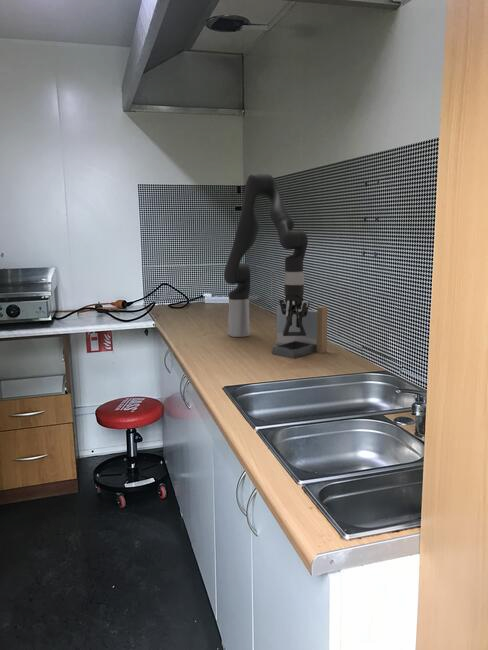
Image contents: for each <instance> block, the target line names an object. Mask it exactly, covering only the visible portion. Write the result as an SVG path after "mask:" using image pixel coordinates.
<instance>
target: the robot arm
mask: <svg viewBox="0 0 488 650" xmlns="http://www.w3.org/2000/svg"><path fill="white" fill-rule="evenodd" d="M244 186H245V187H244V192H243V200H242V205H241V211H240V215H239V220H238V223H237V227H236V230H235V234H234V238H233V239H234V240H233V243H232V247H231V250H230V253H229V255H228V259H227V262H226V265H225V267H224V273H223V277H224V281H225V282H226V284H228V285H236V287H235V288H234V289H233V290H231V291H229V293H228V314H227V335H228V336H230V337H233V338H245V337H249V336H250V298H249V297H250V292H251V269H250V266H249V265H248V264H247V263H246V262H241V261H242V259H243V257H244V256H245V254H247V252H248V251H249V250H250V249H251V248H252V247H253V245H254V244H255V242H256V239H257V236H258V234H259V229H260V225H259V220H258V217H257V214H256V211H255V205H256V200H257V198H267V199H268V200H269V202H270V209H269V211H270V212H269V216H270V220H271V221H272V223H273V225H274V227H275V228H276V230H277V233H278V239H279V243H280V245H281V247H283V249H285V250H290V251H292V250H293V253H292V254H290V255H288V256H286V257H285V259H284V280H283V281H284V285H283V286H284V295H285V297H284V298H283V299H279V301H278V302H279V306H280V307H281V311H282V314H283V315H286V322H287V320H288V317H289V313H290V307H291V305H293V307H292V308H291V309H292V311H293V310H294V311H295V312H297V310H298V309H299V310H298V314H300V315H299V317H300V319H301V322H302V317H305V316H307V312H308V310H309V308H310V302H309V301H305V300H304V294H305V291H304V290H305V289H304V288H305V276H304V259H305V255H306V252H307V247H308V242H309V237H308V235H307V233H306V232H305V231H304V230H293V229H294V228H295V222H294V220H293V218H292V216H291V215H290V213H289V211H288V210H287V207H286V206H285V204H284V202H283V198H282V196H281V193H280V190H279V188H278V186H277V183H276V181H275V179H274V177H273V176H272V175H270V174H268V173H251V174H249V175H248V176H247V179H246V183H245V185H244ZM296 306H298V308H297V307H296ZM284 309H285V310H284ZM290 326H292V320H291V324H290ZM296 327H297V328H299V323H298V320H297V318H296Z"/></svg>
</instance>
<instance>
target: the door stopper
mask: <svg viewBox="0 0 488 650" xmlns="http://www.w3.org/2000/svg"><path fill="white" fill-rule="evenodd" d="M292 307H293V305H291V307H290V313H289V317H288V320H287V322H286V324H285V327H284V329H283V336H294V335H295V336H306V333H305V330H304V327H303V325H302V322H301V319H300V317H299V314H298V310H297V312H295V311H294V310H293V311H292V309H291V308H292ZM296 307H297V308H298V306H296ZM294 314H296V317H297V320H298V323H299V328H300V332H289V328H290V324H291V320H292V316H293V315H294Z"/></svg>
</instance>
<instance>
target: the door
mask: <svg viewBox="0 0 488 650" xmlns="http://www.w3.org/2000/svg"><path fill="white" fill-rule="evenodd" d="M284 310H285V309H284ZM298 310H299V309H298ZM299 315H300V314H299ZM296 318H297V317H296V314H294V315H293V316H292V326H290V328H289V332H300V328H297V327H296ZM285 324H286V315H283V314H282V311H281V307H280V305H279V306H276V344H277V345H280V344H284V343H288V342H292V341H299V342H305V343H310V344H316V352H315V353H321V354H323V353H327V352H328V306H318V307H317V309H316V310H312V309H308V312H307V316H305V317H302V325H303V327H304V330H305V333H306V336H295V335H294V336H283V329H284V327H285Z"/></svg>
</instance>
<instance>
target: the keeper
mask: <svg viewBox="0 0 488 650" xmlns="http://www.w3.org/2000/svg"><path fill="white" fill-rule="evenodd" d="M271 347H272V348H271V351H272V352H271V353H272V355H276V356H281V357H285V358H290V359H296V358H299V357H303V356H306V355H311V354H314V353H317V352H316V344H310V343H305V342H299V341H292V342H288V343H284V344H277V345H272V346H271Z"/></svg>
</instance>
